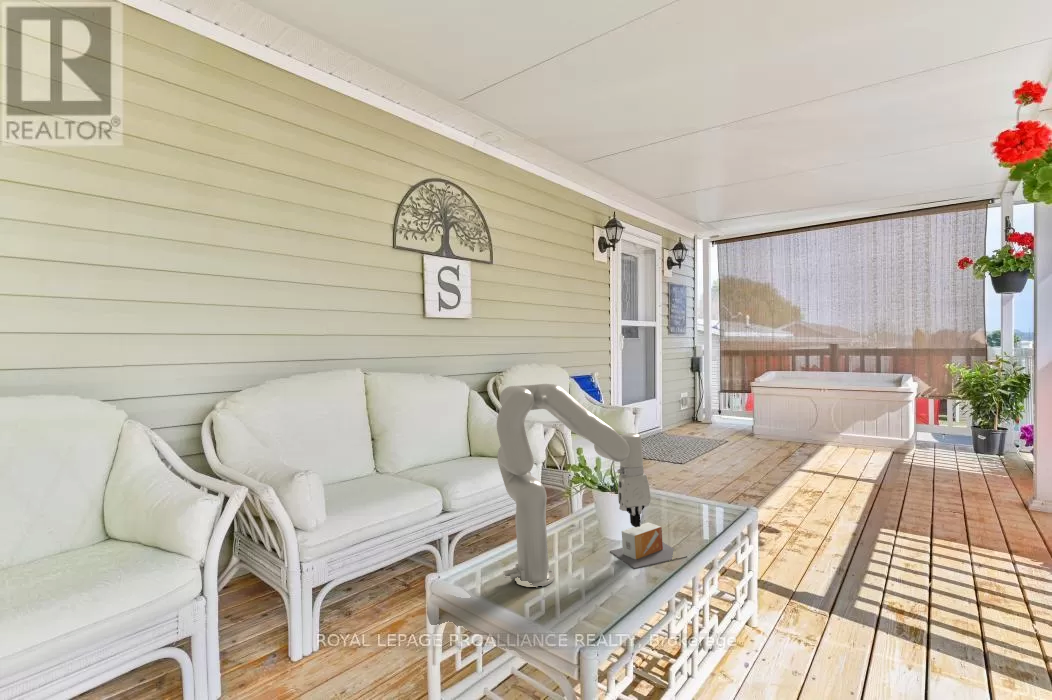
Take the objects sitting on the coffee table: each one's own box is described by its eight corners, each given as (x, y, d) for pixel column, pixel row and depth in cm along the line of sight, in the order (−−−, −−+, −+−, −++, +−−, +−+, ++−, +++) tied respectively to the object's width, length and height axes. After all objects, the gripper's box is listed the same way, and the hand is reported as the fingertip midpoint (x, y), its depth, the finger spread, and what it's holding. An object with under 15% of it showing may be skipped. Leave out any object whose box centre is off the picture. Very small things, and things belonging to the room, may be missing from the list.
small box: (634, 535, 167) (661, 526, 174) (620, 530, 173) (648, 521, 180) (636, 560, 167) (663, 549, 174) (622, 554, 173) (649, 544, 180)
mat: (634, 569, 161) (634, 567, 161) (609, 551, 176) (609, 550, 176) (687, 557, 168) (687, 555, 168) (659, 541, 183) (659, 540, 183)
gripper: (617, 476, 164) (621, 533, 164) (657, 469, 169) (661, 525, 169) (606, 471, 171) (610, 526, 171) (645, 465, 176) (648, 518, 176)
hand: (635, 525), depth 170 cm, fingers closed
